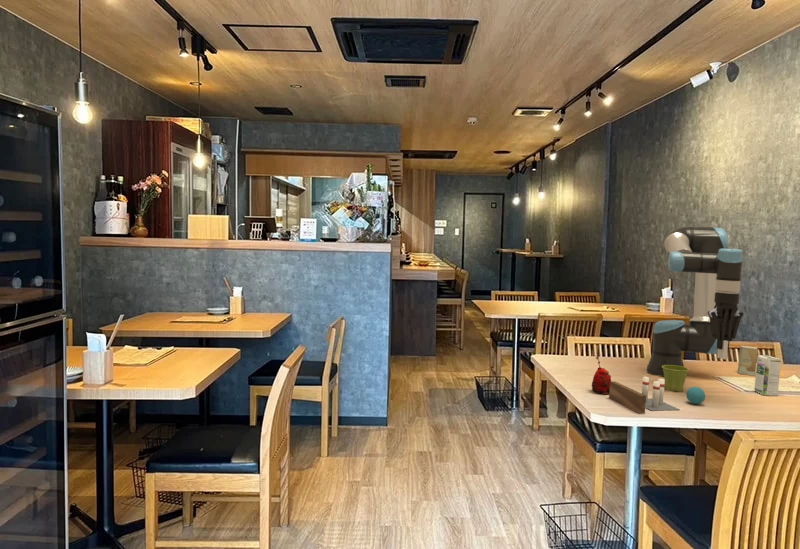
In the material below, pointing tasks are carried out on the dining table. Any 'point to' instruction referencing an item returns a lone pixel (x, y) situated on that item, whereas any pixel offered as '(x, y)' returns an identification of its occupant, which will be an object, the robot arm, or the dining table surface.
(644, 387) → the pin back right
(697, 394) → the ball
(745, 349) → the skincare box
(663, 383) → the pin front
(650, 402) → the pin deck mark
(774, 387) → the syrup box
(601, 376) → the red clay folk toy
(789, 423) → the dining table surface
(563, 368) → the dining table surface
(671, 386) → the plant pot
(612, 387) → the bar
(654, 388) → the pin back left
